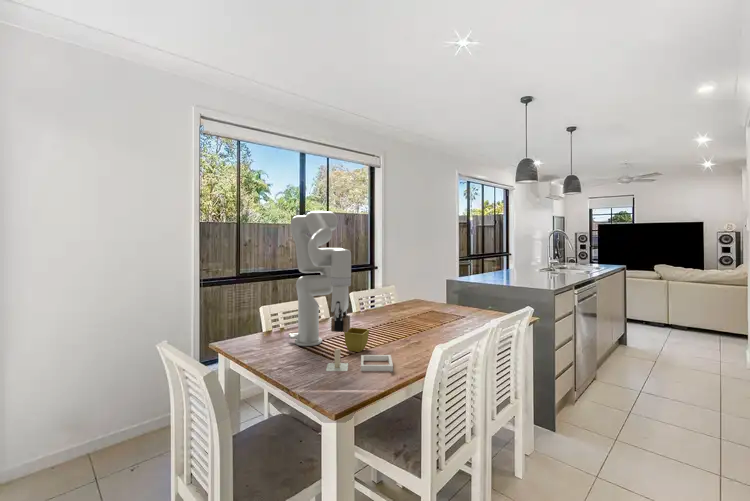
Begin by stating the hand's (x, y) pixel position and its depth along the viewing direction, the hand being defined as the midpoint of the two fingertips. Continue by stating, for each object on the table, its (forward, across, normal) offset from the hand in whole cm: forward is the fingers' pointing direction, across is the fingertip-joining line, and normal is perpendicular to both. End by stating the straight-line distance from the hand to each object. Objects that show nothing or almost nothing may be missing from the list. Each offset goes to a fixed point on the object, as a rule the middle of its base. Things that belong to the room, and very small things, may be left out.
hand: (340, 328), depth 139 cm
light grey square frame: (+16, -4, +13) cm, 21 cm away
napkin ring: (+1, 0, 0) cm, 1 cm away
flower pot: (+16, -22, +3) cm, 27 cm away
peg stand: (+16, 0, -1) cm, 16 cm away
